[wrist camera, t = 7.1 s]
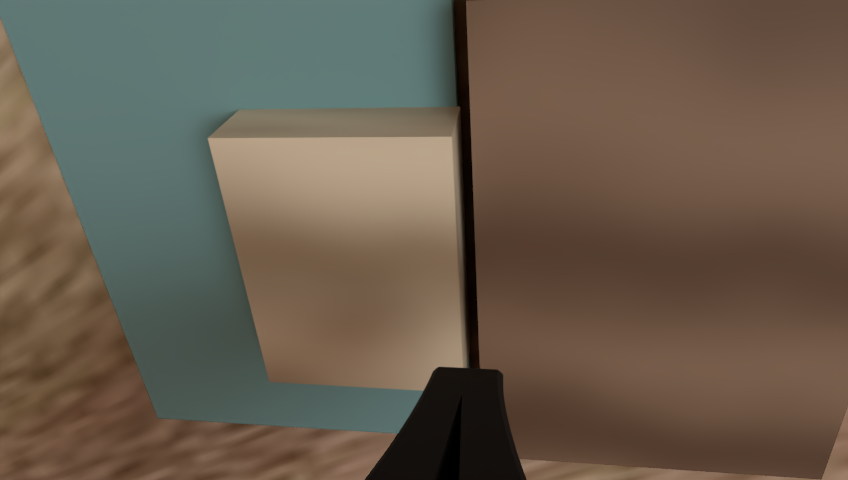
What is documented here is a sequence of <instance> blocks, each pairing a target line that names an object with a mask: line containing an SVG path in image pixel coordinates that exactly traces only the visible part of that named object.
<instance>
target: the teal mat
mask: <svg viewBox="0 0 848 480" xmlns="http://www.w3.org/2000/svg"><path fill="white" fill-rule="evenodd" d="M0 17H1V20H2V22H3V25H4V28H5V30H6V33H7V35H8V38H9V40H10V43H11V45H12V48H13V51H14V53H15V56H16V58H17V61H18V63H19V66H20V68H21V71H22V73H23V76H24V79H25V81H26V84H27V86H28V89H29V91H30V94H31V96H32V99H33V102H34V104H35V107H36V109H37V112H38V114H39V117H40V119H41V122H42V124H43V127H44V130H45V132H46V135H47V137H48V140H49V142H50V145H51V147H52V150H53V152H54V155H55V158H56V160H57V163H58V165H59V168H60V170H61V173H62V175H63V178H64V181H65V183H66V186H67V188H68V191H69V193H70V196H71V198H72V201H73V203H74V206H75V209H76V211H77V214H78V216H79V219H80V221H81V224H82V226H83V229H84V232H85V234H86V237H87V239H88V242H89V244H90V247H91V249H92V252H93V254H94V257H95V260H96V262H97V265H98V267H99V270H100V272H101V275H102V277H103V280H104V283H105V285H106V288H107V290H108V293H109V295H110V298H111V300H112V303H113V305H114V308H115V311H116V313H117V316H118V318H119V321H120V323H121V326H122V328H123V331H124V334H125V336H126V339H127V341H128V344H129V346H130V349H131V351H132V354H133V356H134V359H135V362H136V364H137V367H138V369H139V372H140V374H141V377H142V379H143V382H144V385H145V387H146V390H147V392H148V395H149V397H150V400H151V402H152V405H153V407H154V410H155V413H156V415H157V418H162V419H178V420H193V421H209V422H224V423H240V424H256V425H271V426H287V427H302V428H318V429H333V430H349V431H365V432H380V433H396V434H398V433H399V431H400V429H401V428H402V426H403V425H404V423H405V422H406V420H407V419H408V417H409V415H410V414H411V412H412V410H413V409H414V407H415V405H416V404H417V402H418V400H419V398H420V397H421V395H422V393H423V391H420V390H402V389H384V388H367V387H349V386H332V385H314V384H297V383H279V382H269V379H268V375H267V371H266V367H265V363H264V359H263V355H262V351H261V347H260V343H259V339H258V335H257V331H256V327H255V324H254V320H253V316H252V312H251V308H250V304H249V300H248V296H247V292H246V288H245V284H244V280H243V276H242V272H241V268H240V264H239V260H238V256H237V252H236V248H235V244H234V241H233V237H232V233H231V229H230V225H229V221H228V217H227V213H226V209H225V205H224V201H223V197H222V193H221V189H220V185H219V181H218V177H217V173H216V169H215V165H214V161H213V158H212V154H211V150H210V146H209V142H208V137H209V136H211V135H212V134H213V133H214V132H215V131H216V130H217V129H218V128H219V127H221V126H222V125H223V124H224V123H225V122H226V121H227V120H228V119H229V118H230V117H232V116H233V115H234V114H235V113H236V112H237V111H238V110H248V109H322V108H395V107H459V106H458V84H457V63H456V41H455V20H454V0H0ZM467 368H471V362H470V352H469V359H468V367H467Z"/></svg>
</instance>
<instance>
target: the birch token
mask: <svg viewBox="0 0 848 480" xmlns="http://www.w3.org/2000/svg"><path fill="white" fill-rule="evenodd" d="M208 142H209V146H210V150H211V154H212V158H213V161H214V165H215V169H216V173H217V177H218V181H219V185H220V189H221V193H222V197H223V201H224V205H225V209H226V213H227V217H228V221H229V225H230V229H231V233H232V237H233V241H234V244H235V248H236V252H237V256H238V260H239V264H240V268H241V272H242V276H243V280H244V284H245V288H246V292H247V296H248V300H249V304H250V308H251V312H252V316H253V320H254V324H255V327H256V331H257V335H258V339H259V343H260V347H261V351H262V355H263V359H264V363H265V367H266V371H267V375H268V379H269V382H279V383H297V384H314V385H332V386H349V387H367V388H384V389H402V390H420V391H424V389H425V387H426V385H427V383H428V381H429V379H430V377H431V375H432V373H433V371H434V370H435V369H436V368H437V367H456V368H467V367H468V359H469V352H470V335H469V310H468V285H467V259H466V234H465V209H464V184H463V158H462V133H461V108H460V107H395V108H322V109H248V110H238V111H237V112H236V113H235V114H234V115H233V116H232V117H230V118H229V119H228V120H227V121H226V122H225V123H224V124H223V125H222V126H221V127H219V128H218V129H217V130H216V131H215V132H214V133H213V134H212V135H211V136H209V137H208Z"/></svg>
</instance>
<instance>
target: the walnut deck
mask: <svg viewBox="0 0 848 480" xmlns="http://www.w3.org/2000/svg"><path fill="white" fill-rule="evenodd" d="M466 15H467V41H468V68H469V95H470V122H471V148H472V175H473V202H474V229H475V255H476V282H477V309H478V335H479V362H480V369H497V370H499V371H500V372H501V373H502V374H503V390H504V401H505V407H506V412H507V417H508V421H509V426H510V429H511V433H512V437H513V440H514V443H515V447H516V450H517V454H518V457H519V459H531V460H546V461H560V462H575V463H590V464H604V465H619V466H633V467H648V468H663V469H677V470H692V471H706V472H721V473H736V474H750V475H765V476H779V477H794V478H809V479H822V476H823V474H824V471H825V468H826V465H827V463H828V460H829V457H830V454H831V451H832V449H833V446H834V443H835V440H836V437H837V435H838V432H839V429H840V426H841V423H842V421H843V418H844V415H845V412H846V410H847V407H848V0H466Z"/></svg>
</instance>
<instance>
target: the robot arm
mask: <svg viewBox="0 0 848 480" xmlns="http://www.w3.org/2000/svg"><path fill="white" fill-rule="evenodd" d="M365 480H526V477H525V474H524V472H523V469H522V466H521V463H520V460H519V457H518V454H517V450H516V447H515V443H514V440H513V437H512V433H511V429H510V426H509V421H508V417H507V412H506V407H505V401H504V390H503V374H502V373H501V372H500V371H499V370H497V369H476V368H456V367H437V368H436V369H435V370H434V371H433V373H432V375H431V377H430V379H429V381H428V383H427V385H426V387H425V389H424V391H423V393H422V395H421V397H420V398H419V400H418V402H417V404H416V405H415V407H414V409H413V410H412V412H411V414H410V415H409V417H408V419H407V420H406V422H405V423H404V425H403V426H402V428H401V429H400V431H399V433H398V434H397V436H396V437H395V439H394V440H393V442H392V443H391V445H390V446H389V448H388V449H387V450H386V452H385V453H384V454H383V456H382V457H381V459H380V460H379V461H378V463H377V464H376V465H375V467H374V468H373V469H372V471H371V472H370V473H369V475H368V476H367V477H366V479H365Z"/></svg>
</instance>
